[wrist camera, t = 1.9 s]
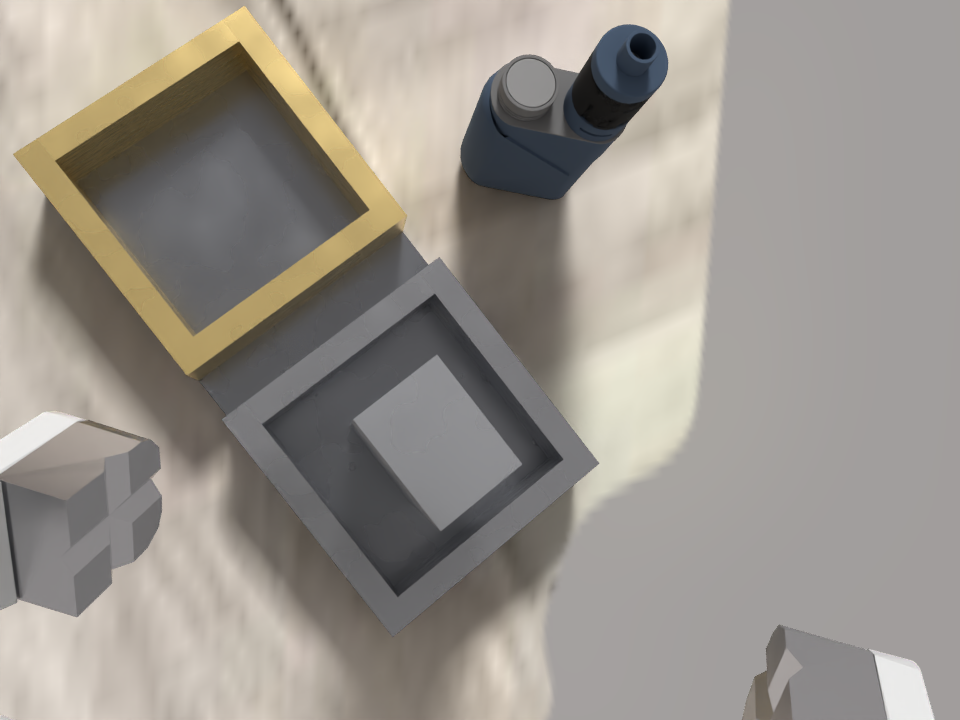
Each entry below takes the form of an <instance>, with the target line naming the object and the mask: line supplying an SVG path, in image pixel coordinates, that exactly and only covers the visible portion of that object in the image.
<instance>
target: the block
mask: <svg viewBox="0 0 960 720" xmlns="http://www.w3.org/2000/svg"><path fill="white" fill-rule="evenodd" d="M351 427H352V429H353V430H354V431H355V432H356V434H357V435H358V436H359V437H360V439H361V440H362V441H363V443H364V444H365V445H366V446H367V448H368V449H369V450H370V452H371V453H372V454H373V455H374V457H375V458H376V459H377V460H378V462H379V463H380V464H381V466H382V467H383V468H384V469H385V471H386V472H387V473H388V475H389V476H390V477H391V478H392V480H393V481H394V482H395V483H396V485H397V486H398V487H399V489H400V490H401V491H402V492H403V494H404V495H405V496H406V498H407V499H408V500H409V501H410V503H411V504H412V505H413V506H414V507H415V508H416V509H417V510H418V511H419V512H420V513H422V514H423V515H424V516H425V517H426V518H427V519H428V520H429V521H430V522H431V523H432V524H433V525H435V526H436V527H437V528H438V529H439V530H440V531H442V530H443V529H444V528H446V527H447V526H448V525H449V524H450V523H452V522H453V521H454V520H455V519H456V518H458V517H459V516H460V515H461V514H463V513H464V512H465V511H466V510H467V509H469V508H470V507H471V506H472V505H473V504H475V503H476V502H477V501H478V500H480V499H481V498H482V497H483V496H484V495H486V494H487V493H488V492H489V491H490V490H492V489H493V488H494V487H495V486H497V485H498V484H499V483H500V482H501V481H503V480H504V479H505V478H506V477H507V476H509V475H510V474H511V473H512V472H514V471H515V470H516V469H517V468H518V467H520V466H521V465H522V463H521V462H520V460H519V459H518V458H517V457H516V455H515V454H514V453H513V451H512V450H511V449H510V448H509V446H508V445H507V444H506V442H505V441H504V440H503V439H502V437H501V436H500V435H499V433H498V432H497V431H496V430H495V428H494V427H493V426H492V424H491V423H490V422H489V421H488V419H487V418H486V417H485V416H484V414H483V413H482V412H481V410H480V409H479V408H478V407H477V405H476V404H475V403H474V401H473V400H472V399H471V398H470V396H469V395H468V394H467V392H466V391H465V390H464V389H463V387H462V386H461V385H460V383H459V382H458V381H457V380H456V378H455V377H454V376H453V374H452V373H451V372H450V371H449V369H448V368H447V367H446V365H445V364H444V363H443V362H442V360H441V359H440V358H439V356H438V355H436V356H434V357H433V358H432V359H431V360H429V361H428V362H427V363H425V364H424V365H423V366H421V367H420V368H419V369H418V370H416V371H415V372H414V373H412V374H411V375H410V376H408V377H407V378H406V379H405V380H403V381H402V382H401V383H399V384H398V385H397V386H396V387H394V388H393V389H392V390H390V391H389V392H388V393H386V394H385V395H384V396H383V397H381V398H380V399H379V400H377V401H376V402H375V403H374V404H372V405H371V406H370V407H368V408H367V409H366V410H364V411H363V412H362V413H361V414H359V415H358V416H357V417H355V418H354V419H353V421H352V424H351Z"/></svg>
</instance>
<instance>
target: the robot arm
mask: <svg viewBox="0 0 960 720" xmlns="http://www.w3.org/2000/svg"><path fill="white" fill-rule="evenodd" d="M160 469H161V465H160V452H159V447H158V446H157V445H156V444H155V443H154V442H153V441H152V440H149V439H146V438H143V437H140V436H137V435H134V434H131V433H127V432H124V431H121V430H118V429H115V428H112V427H109V426H106V425H102V424H99V423H96V422H93V421H90V420H84V419H82V418H79V417H76V416H72V415H69V414H66V413H63V412H59V411H48V412H43V413H42V414H40V415H39V416H37V417H35V418H34V419H32V420H31V421H29V422H28V423H26V424H24V425H23V426H21V427H20V428H18V429H16V430H15V431H13V432H12V433H10V434H8V435H7V436H5V437H4V438H2V439H0V610H2V609H4V608H6V607H8V606H11V605H13V604H15V603H17V599H19V600H22V601H26V602H29V603H32V604H35V605H39V606H42V607H45V608H48V609H52V610H55V611H58V612H62V613H65V614H68V615H71V616H75V617H78V616H79V615H80V614H81V613H82V612H83V611H84V610H85V609H86V608H87V607H88V606H89V605H90V604H91V603H92V602H93V601H94V600H95V599H96V598H98V597H99V596H100V595H101V594H102V593H103V592H104V591H105V590H106V589H107V588H108V587H109V586H110V585H111V584H112V569H115V568H117V567H120V566H123V565H126V564H129V563H132V562H134V561H135V560H136V559H137V558H138V557H139V556H140V555H141V554H142V553H143V552H144V551H145V550H146V549H147V548H148V546H149V544H150V542H151V540H152V539H153V537H154V535H155V533H156V531H157V529H158V527H159V522H160V517H161V513H162V495H161V494H160V492H159V491H158V489H157V488H156V486H155V484H154V483H153V481H152V480H151V478H152V477H153V476H154V475H155V474H156V473H157V472H158V471H159V470H160ZM766 662H767V671H765V672H763V673H761V674H759V675H757V676H755V677H754V680H753V683H752V685H751V688H750V691H749V694H748V696H747V700H746V704H745V709H744V713H743V717H742V720H935V718H934V715H933V711H932V708H931V704H930V701H929V697H928V694H927V690H926V687H925V683H924V680H923V676H922V673H921V669H920V668H919V666H918V665H917V664H916V663H915V662H914V661H912V660H908V659H904V658H900V657H896V656H893V655H889V654H885V653H882V652H878V651H874V650H871V649H867V650H865V649H862V648H859V647H855V646H852V645H848V644H845V643H842V642H838V641H835V640H831V639H828V638H824V637H821V636H817V635H814V634H810V633H807V632H803V631H800V630H796V629H793V628H789V627H786V626H783V625H778V626H777V628H776V629H775V631H774V632H773V634H772V636H771V638H770V641H769V643H768V646H767V648H766ZM0 720H14V719H12V718H9V717H6V716H4V715H1V714H0Z"/></svg>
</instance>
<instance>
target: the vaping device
mask: <svg viewBox="0 0 960 720" xmlns="http://www.w3.org/2000/svg"><path fill="white" fill-rule="evenodd" d="M667 70H668V58H667V53H666V50H665V48H664V46H663V44H662V43H661V41H660V40H659V39H658V38H657V37H656V36H655V34H653V33H652V32H651V31H649V30H647V29H645V28H644V27H641V26H637V25H631V24H629V25H621V26H617V27H615V28H612V29H611V30H609V31H608V32H607V33H606V34H605V35H604V36H603V37H602V39H601V40H600V41H599V43H598V45H597V46H596V48H595V49H594V51H593V52H592V54H591V56H590V57H589V59H588V60H587V62H586V63H585V65H584V67H583V68H582V70H581V71H580V73H575V72H570V71H566V70H561V69H557V68H554V67H553V66H552V65H551V64H550V63H549V62H548V61H547V60H545V59H544V58H542V57H539V56H536V55H522V56H519V57H516V58H515V59H513V60H512V61H511V62H510V63H508V64H506V65H504V66H503V67H502V68H501V69H500V70H498V71H497V72H496V73H495V74H493V75H492V76H491V77H490V78H489V80H488V81H487V83H486V84H485V86H484V88H483V90H482V93H481V95H480V98H479V101H478V103H477V106H476V108H475V111H474V113H473V116H472V118H471V121H470V124H469V126H468V129H467V131H466V134H465V136H464V139H463V142H462V145H461V162H462V165H463V168H464V170H465V172H466V173H467V175H468V177H469V178H470V179H471V180H472V181H473V182H474V183H476V184H478V185H481V186H485V187H490V188H495V189H500V190H505V191H510V192H515V193H521V194H526V195H531V196H536V197H541V198H546V199H558V198H561V197H562V196H563V195H564V194H565V193H566V192H567V191H568V190H569V189H570V187H571V186H572V185H573V184H574V183H575V182H576V181H577V180H578V178H579V177H580V176H581V175H582V174H583V173H584V172H585V171H586V169H587V168H588V167H589V166H590V165H591V164H592V163H593V162H594V161H595V160H596V159H597V158H598V157H600V156H601V155H602V154H603V153H604V151H605V150H606V149H607V148H608V147H609V146H610V145H611V144H612V143H613V141H615V140H616V139H617V138H618V137H619V136H620V135H621V133H622V132H623V131H624V129H625V127H626V124H627V123H628V122H629V121H630V120H631V119H632V117H633V116H634V115H635V114H636V113H637V112H638V111H639V110H640V108H641V107H642V106H643V105H644V104H645V103H646V102H647V101H648V99H649V98H650V97H651V96H652V95H653V94H654V93H655V91H656V90H657V89H658V88H659V87H660V86H661V84H662V83H663V81H664V80H665V77H666V75H667Z"/></svg>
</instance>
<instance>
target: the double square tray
mask: <svg viewBox="0 0 960 720" xmlns="http://www.w3.org/2000/svg"><path fill="white" fill-rule="evenodd" d="M13 155H14V156H15V157H16V159H17V160H18V161H19V163H20V164H21V165H22V166H23V168H24V169H25V170H26V171H27V173H28V174H29V175H30V177H31V178H32V179H33V180H34V182H35V183H36V184H37V185H38V187H39V188H40V189H41V191H42V192H43V193H44V194H45V196H46V197H47V198H48V199H49V201H50V202H51V203H52V204H53V206H54V207H55V208H56V210H57V211H58V212H59V213H60V215H61V216H62V217H63V218H64V220H65V221H66V222H67V224H68V225H69V226H70V227H71V229H72V230H73V231H74V232H75V234H76V235H77V236H78V238H79V239H80V240H81V241H82V243H83V244H84V245H85V246H86V248H87V249H88V250H89V252H90V253H91V254H92V255H93V257H94V258H95V259H96V260H97V262H98V263H99V264H100V266H101V267H102V268H103V269H104V271H105V272H106V273H107V274H108V276H109V277H110V278H111V279H112V281H113V282H114V283H115V285H116V286H117V287H118V288H119V290H120V291H121V292H122V293H123V295H124V296H125V297H126V299H127V300H128V301H129V302H130V304H131V305H132V306H133V307H134V309H135V310H136V311H137V313H138V314H139V315H140V316H141V318H142V319H143V320H144V321H145V323H146V324H147V325H148V327H149V328H150V329H151V330H152V332H153V333H154V334H155V335H156V337H157V338H158V339H159V341H160V342H161V343H162V344H163V346H164V347H165V348H166V349H167V351H168V352H169V353H170V355H171V356H172V357H173V358H174V360H175V361H176V362H177V363H178V365H179V366H180V367H181V368H182V370H183V371H184V372H185V374H186V375H187V376H189V377H192V378H194V379H196V380H199V381H200V383H201V384H202V385H203V386H204V388H205V389H206V390H207V392H208V393H209V394H210V395H211V397H212V398H213V399H214V400H215V402H216V403H217V404H218V406H219V407H220V408H221V409H222V411H223V412H224V413H225V414H226V417H224V418H223V419H222V421H223V422H224V423H225V424H226V426H227V427H228V428H229V430H230V431H231V432H232V433H233V435H234V436H235V437H236V438H237V440H238V441H239V442H240V444H241V445H242V446H243V447H244V449H245V450H246V451H247V452H248V454H249V455H250V456H251V457H252V459H253V460H254V461H255V463H256V464H257V465H258V466H259V468H260V469H261V470H262V471H263V473H264V474H265V475H266V477H267V478H268V479H269V480H270V482H271V483H272V484H273V485H274V487H275V488H276V489H277V491H278V492H279V493H280V494H281V496H282V497H283V498H284V499H285V501H286V502H287V503H288V505H289V506H290V507H291V508H292V510H293V511H294V512H295V513H296V515H297V516H298V517H299V519H300V520H301V521H302V522H303V524H304V525H305V526H306V527H307V529H308V530H309V531H310V532H311V534H312V535H313V536H314V538H315V539H316V540H317V541H318V543H319V544H320V545H321V546H322V548H323V549H324V550H325V552H326V553H327V554H328V555H329V557H330V558H331V559H332V560H333V562H334V563H335V564H336V566H337V567H338V568H339V569H340V571H341V572H342V573H343V574H344V576H345V577H346V578H347V580H348V581H349V582H350V583H351V585H352V586H353V587H354V588H355V590H356V591H357V592H358V594H359V595H360V596H361V597H362V599H363V600H364V601H365V602H366V604H367V605H368V606H369V608H370V609H371V610H372V611H373V613H374V614H375V615H376V616H377V618H378V619H379V620H380V621H381V623H382V624H383V625H384V627H385V628H386V629H387V630H388V632H389V633H390V634H391V635H392V637H394V636H395V635H396V634H397V633H398V632H399V631H401V630H402V629H403V628H404V627H405V626H407V625H408V624H409V623H410V622H411V621H413V620H414V619H415V618H416V617H417V616H418V615H420V614H421V613H422V612H423V611H424V610H426V609H427V608H428V607H429V606H430V605H432V604H433V603H434V602H435V601H436V600H438V599H439V598H440V597H441V596H442V595H443V594H445V593H446V592H447V591H448V590H449V589H451V588H452V587H453V586H454V585H455V584H457V583H458V582H459V581H460V580H461V579H462V578H464V577H465V576H466V575H467V574H468V573H470V572H471V571H472V570H473V569H474V568H476V567H477V566H478V565H479V564H480V563H481V562H483V561H484V560H485V559H486V558H487V557H489V556H490V555H491V554H492V553H493V552H495V551H496V550H497V549H498V548H499V547H501V546H502V545H503V544H504V543H505V542H506V541H508V540H509V539H510V538H511V537H512V536H514V535H515V534H516V533H517V532H518V531H520V530H521V529H522V528H523V527H524V526H525V525H527V524H528V523H529V522H530V521H531V520H533V519H534V518H535V517H536V516H537V515H539V514H540V513H541V512H542V511H543V510H545V509H546V508H547V507H548V506H549V505H550V504H552V503H553V502H554V501H555V500H556V499H558V498H559V497H560V496H561V495H562V494H564V493H565V492H566V491H567V490H568V489H569V488H571V487H572V486H573V485H574V484H575V483H577V482H578V481H579V480H580V479H581V478H583V477H584V476H585V475H586V474H587V473H588V472H590V471H591V470H592V469H593V468H594V467H596V466H597V465H598V464H599V462H598V461H597V460H596V459H595V457H594V456H593V455H592V453H591V452H590V451H589V450H588V448H587V447H586V446H585V444H584V443H583V442H582V441H581V439H580V438H579V437H578V435H577V434H576V433H575V432H574V430H573V429H572V428H571V426H570V425H569V424H568V423H567V421H566V420H565V419H564V417H563V416H562V415H561V413H560V412H559V411H558V410H557V408H556V407H555V406H554V404H553V403H552V402H551V401H550V399H549V398H548V397H547V395H546V394H545V393H544V392H543V390H542V389H541V388H540V386H539V385H538V384H537V383H536V381H535V380H534V379H533V377H532V376H531V375H530V374H529V372H528V371H527V370H526V368H525V367H524V366H523V364H522V363H521V362H520V361H519V359H518V358H517V357H516V355H515V354H514V353H513V352H512V350H511V349H510V348H509V346H508V345H507V344H506V343H505V341H504V340H503V339H502V337H501V336H500V335H499V334H498V332H497V331H496V330H495V328H494V327H493V326H492V325H491V323H490V322H489V321H488V319H487V318H486V317H485V315H484V314H483V313H482V312H481V310H480V309H479V308H478V306H477V305H476V304H475V303H474V301H473V300H472V299H471V297H470V296H469V295H468V294H467V292H466V291H465V290H464V288H463V287H462V286H461V285H460V283H459V282H458V281H457V279H456V278H455V277H454V276H453V274H452V273H451V272H450V270H449V269H448V268H447V266H446V265H445V264H444V263H443V261H442V260H441V259H440V257H439V258H438V259H436V260H435V261H434V262H432V263H431V264H429V265H428V264H427V263H426V261H425V260H424V259H423V257H422V256H421V255H420V254H419V252H418V251H417V250H416V248H415V247H414V246H413V245H412V243H411V242H410V241H409V239H408V238H407V237H406V236H405V234H404V233H403V228H404V225H405V221H406V218H407V215H406V214H405V212H404V211H403V210H402V208H401V207H400V206H399V205H398V203H397V202H396V201H395V199H394V198H393V197H392V196H391V194H390V193H389V192H388V190H387V189H386V188H385V187H384V185H383V184H382V183H381V181H380V180H379V179H378V178H377V176H376V175H375V174H374V172H373V171H372V170H371V169H370V167H369V166H368V165H367V163H366V162H365V161H364V159H363V158H362V157H361V156H360V154H359V153H358V152H357V150H356V149H355V148H354V147H353V145H352V144H351V143H350V141H349V140H348V139H347V138H346V136H345V135H344V134H343V132H342V131H341V130H340V129H339V127H338V126H337V125H336V123H335V122H334V121H333V120H332V118H331V117H330V116H329V114H328V113H327V112H326V110H325V109H324V108H323V107H322V105H321V104H320V103H319V101H318V100H317V99H316V98H315V96H314V95H313V94H312V92H311V91H310V90H309V89H308V87H307V86H306V85H305V83H304V82H303V81H302V80H301V78H300V77H299V76H298V74H297V73H296V72H295V71H294V69H293V68H292V67H291V65H290V64H289V63H288V61H287V60H286V59H285V58H284V56H283V55H282V54H281V52H280V51H279V50H278V49H277V47H276V46H275V45H274V43H273V42H272V41H271V40H270V38H269V37H268V36H267V34H266V33H265V32H264V31H263V29H262V28H261V27H260V25H259V24H258V23H257V22H256V20H255V19H254V18H253V16H252V15H251V14H250V12H249V11H248V10H247V9H246V7H245V6H244V7H242V8H241V9H239V10H238V11H236V12H234V13H233V14H231V15H230V16H228V17H227V18H225V19H223V20H222V21H220V22H219V23H217V24H216V25H214V26H213V27H211V28H209V29H208V30H206V31H205V32H203V33H202V34H200V35H198V36H197V37H195V38H194V39H192V40H191V41H189V42H188V43H186V44H184V45H183V46H181V47H180V48H178V49H177V50H175V51H173V52H172V53H170V54H169V55H167V56H166V57H164V58H163V59H161V60H159V61H158V62H156V63H155V64H153V65H152V66H150V67H148V68H147V69H145V70H144V71H142V72H141V73H139V74H138V75H136V76H134V77H133V78H131V79H130V80H128V81H127V82H125V83H123V84H122V85H120V86H119V87H117V88H116V89H114V90H113V91H111V92H109V93H108V94H106V95H105V96H103V97H102V98H100V99H98V100H97V101H95V102H94V103H92V104H91V105H89V106H88V107H86V108H84V109H83V110H81V111H80V112H78V113H77V114H75V115H73V116H72V117H70V118H69V119H67V120H66V121H64V122H63V123H61V124H59V125H58V126H56V127H55V128H53V129H52V130H50V131H48V132H47V133H45V134H44V135H42V136H41V137H39V138H37V139H36V140H34V141H33V142H31V143H30V144H28V145H27V146H25V147H23V148H22V149H20V150H19V151H17V152H16V153H14V154H13ZM436 355H438V356H439V358H440V359H441V360H442V362H443V363H444V364H445V365H446V367H447V368H448V369H449V371H450V372H451V373H452V374H453V376H454V377H455V378H456V380H457V381H458V382H459V383H460V385H461V386H462V387H463V389H464V390H465V391H466V392H467V394H468V395H469V396H470V398H471V399H472V400H473V401H474V403H475V404H476V405H477V407H478V408H479V409H480V410H481V412H482V413H483V414H484V416H485V417H486V418H487V419H488V421H489V422H490V423H491V424H492V426H493V427H494V428H495V430H496V431H497V432H498V433H499V435H500V436H501V437H502V439H503V440H504V441H505V442H506V444H507V445H508V446H509V448H510V449H511V450H512V451H513V453H514V454H515V455H516V457H517V458H518V459H519V460H520V462H521V463H522V465H521V466H520V467H518V468H517V469H516V470H515V471H514V472H512V473H511V474H510V475H509V476H507V477H506V478H505V479H504V480H503V481H501V482H500V483H499V484H498V485H497V486H495V487H494V488H493V489H492V490H490V491H489V492H488V493H487V494H486V495H484V496H483V497H482V498H481V499H480V500H478V501H477V502H476V503H475V504H473V505H472V506H471V507H470V508H469V509H467V510H466V511H465V512H464V513H463V514H461V515H460V516H459V517H458V518H456V519H455V520H454V521H453V522H452V523H450V524H449V525H448V526H447V527H446V528H444V529H443V530H442V531H440V530H439V529H438V528H437V527H436V526H435V525H433V524H432V523H431V522H430V521H429V520H428V519H427V518H426V517H425V516H424V515H423V514H422V513H420V512H419V511H418V510H417V509H416V508H415V507H414V506H413V505H412V504H411V503H410V501H409V500H408V499H407V498H406V496H405V495H404V494H403V492H402V491H401V490H400V489H399V487H398V486H397V485H396V483H395V482H394V481H393V480H392V478H391V477H390V476H389V475H388V473H387V472H386V471H385V469H384V468H383V467H382V466H381V464H380V463H379V462H378V460H377V459H376V458H375V457H374V455H373V454H372V453H371V452H370V450H369V449H368V448H367V446H366V445H365V444H364V443H363V441H362V440H361V439H360V437H359V436H358V435H357V434H356V432H355V431H354V430H353V429H352V427H351V424H352V421H353V419H354V418H355V417H357V416H358V415H359V414H361V413H362V412H363V411H364V410H366V409H367V408H368V407H370V406H371V405H372V404H374V403H375V402H376V401H377V400H379V399H380V398H381V397H383V396H384V395H385V394H386V393H388V392H389V391H390V390H392V389H393V388H394V387H396V386H397V385H398V384H399V383H401V382H402V381H403V380H405V379H406V378H407V377H408V376H410V375H411V374H412V373H414V372H415V371H416V370H418V369H419V368H420V367H421V366H423V365H424V364H425V363H427V362H428V361H429V360H431V359H432V358H433V357H434V356H436Z"/></svg>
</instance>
